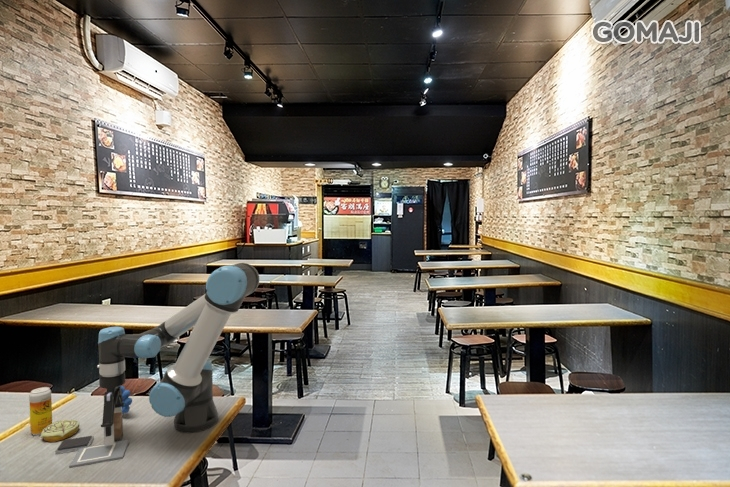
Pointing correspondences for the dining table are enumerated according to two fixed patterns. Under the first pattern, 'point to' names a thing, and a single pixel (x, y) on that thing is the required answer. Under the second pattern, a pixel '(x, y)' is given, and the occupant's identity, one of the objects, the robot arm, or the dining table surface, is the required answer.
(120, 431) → the brown wooden block
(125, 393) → the grapes
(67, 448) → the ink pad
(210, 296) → the robot arm
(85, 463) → the board
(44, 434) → the decorated donut
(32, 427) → the beer can
